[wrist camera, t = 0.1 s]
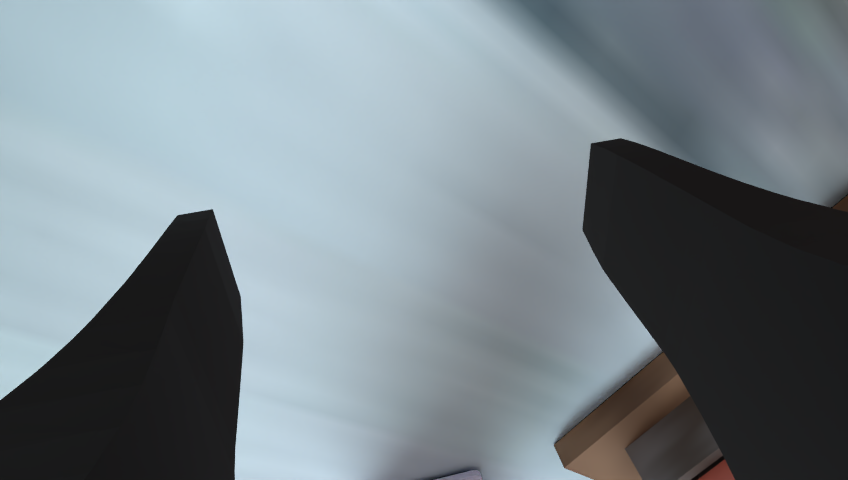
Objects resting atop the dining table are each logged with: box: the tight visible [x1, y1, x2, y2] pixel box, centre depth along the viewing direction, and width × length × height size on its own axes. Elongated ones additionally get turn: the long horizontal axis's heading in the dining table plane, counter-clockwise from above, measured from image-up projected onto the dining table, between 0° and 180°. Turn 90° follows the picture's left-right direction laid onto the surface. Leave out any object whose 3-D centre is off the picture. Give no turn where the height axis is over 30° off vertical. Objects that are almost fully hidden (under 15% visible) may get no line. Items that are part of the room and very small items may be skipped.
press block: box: [554, 195, 848, 480], centre depth 33 cm, size 22×11×4 cm, turn 140°
